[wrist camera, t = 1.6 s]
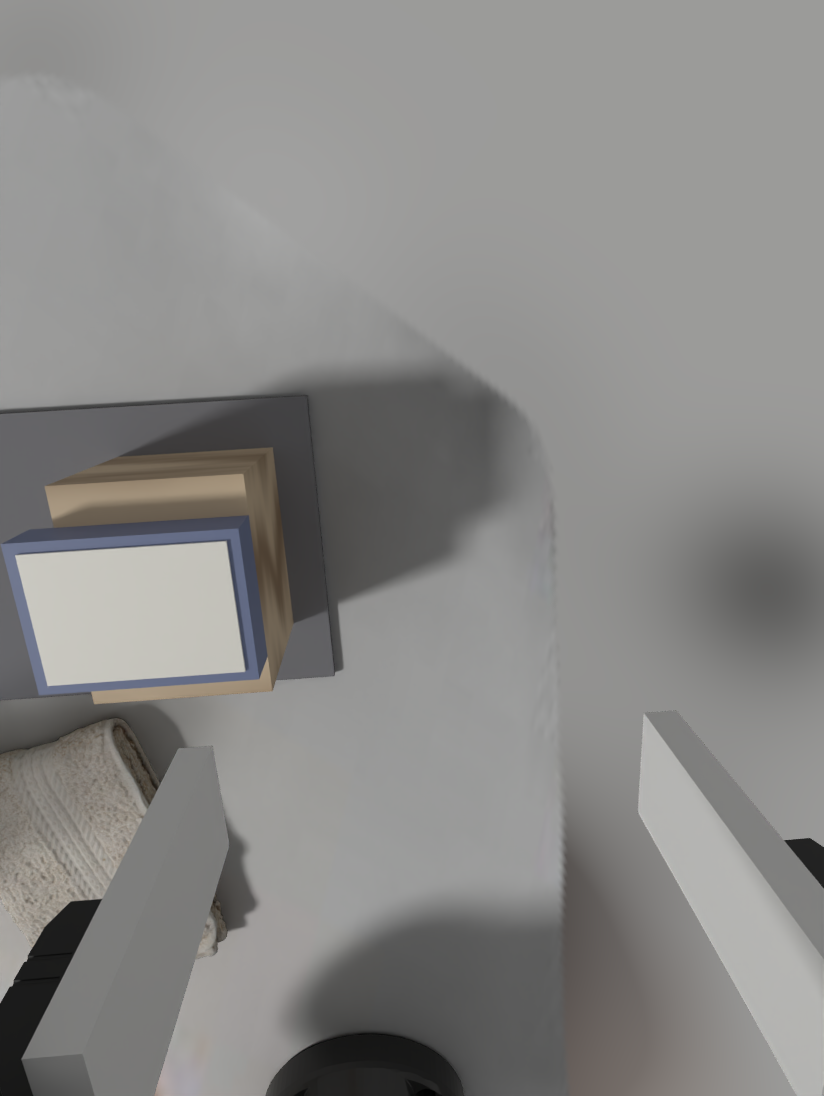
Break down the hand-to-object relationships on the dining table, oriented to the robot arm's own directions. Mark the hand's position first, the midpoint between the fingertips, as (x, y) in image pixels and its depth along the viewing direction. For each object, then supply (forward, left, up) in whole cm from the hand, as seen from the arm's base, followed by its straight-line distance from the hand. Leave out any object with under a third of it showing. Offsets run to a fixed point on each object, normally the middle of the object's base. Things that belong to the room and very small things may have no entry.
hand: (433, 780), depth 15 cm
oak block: (0, +10, -22) cm, 24 cm away
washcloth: (-20, +21, -22) cm, 36 cm away
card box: (0, +11, -14) cm, 18 cm away
